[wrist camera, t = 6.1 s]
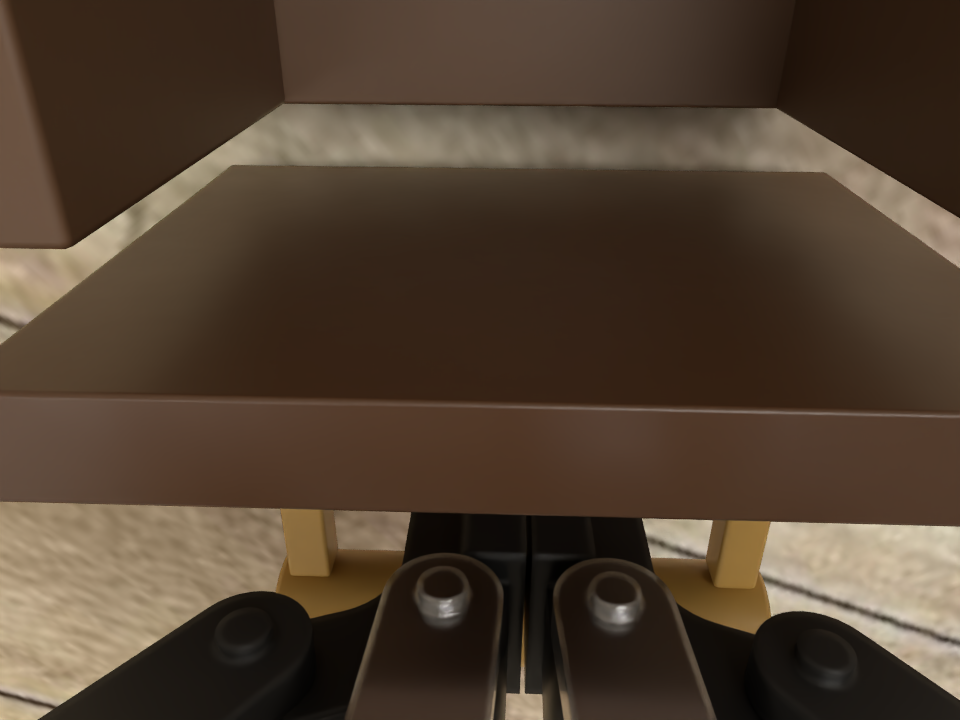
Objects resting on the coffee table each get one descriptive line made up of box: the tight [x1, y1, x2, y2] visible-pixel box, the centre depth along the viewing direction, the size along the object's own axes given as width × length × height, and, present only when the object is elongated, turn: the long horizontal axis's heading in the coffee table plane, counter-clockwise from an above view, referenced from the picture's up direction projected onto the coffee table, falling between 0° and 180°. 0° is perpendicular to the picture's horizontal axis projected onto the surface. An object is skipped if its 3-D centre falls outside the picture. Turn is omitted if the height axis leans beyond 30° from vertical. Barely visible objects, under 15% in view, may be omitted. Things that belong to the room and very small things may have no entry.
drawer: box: [0, 0, 960, 667], centre depth 9 cm, size 16×10×8 cm, turn 0°
